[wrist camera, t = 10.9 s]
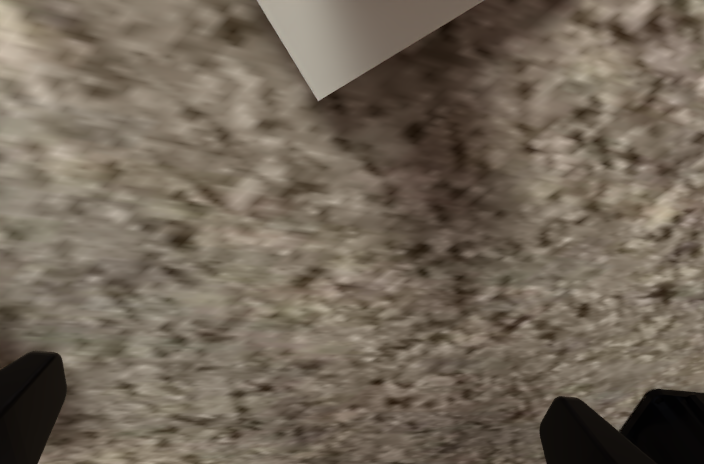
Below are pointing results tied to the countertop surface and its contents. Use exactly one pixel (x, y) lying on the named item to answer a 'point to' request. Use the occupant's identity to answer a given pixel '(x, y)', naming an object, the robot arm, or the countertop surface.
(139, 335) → the countertop surface
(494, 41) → the countertop surface
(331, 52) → the plinth
